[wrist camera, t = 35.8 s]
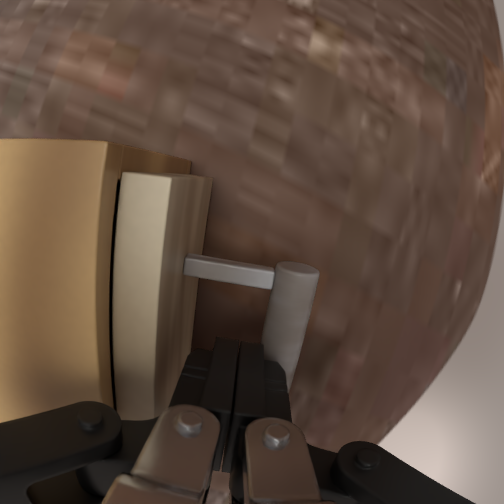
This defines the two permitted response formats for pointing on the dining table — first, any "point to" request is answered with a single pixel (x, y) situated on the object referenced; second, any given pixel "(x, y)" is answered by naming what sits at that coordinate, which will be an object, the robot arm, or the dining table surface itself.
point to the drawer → (181, 290)
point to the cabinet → (59, 267)
